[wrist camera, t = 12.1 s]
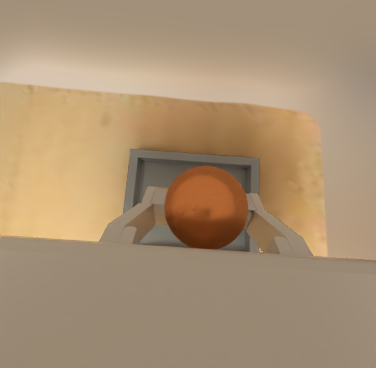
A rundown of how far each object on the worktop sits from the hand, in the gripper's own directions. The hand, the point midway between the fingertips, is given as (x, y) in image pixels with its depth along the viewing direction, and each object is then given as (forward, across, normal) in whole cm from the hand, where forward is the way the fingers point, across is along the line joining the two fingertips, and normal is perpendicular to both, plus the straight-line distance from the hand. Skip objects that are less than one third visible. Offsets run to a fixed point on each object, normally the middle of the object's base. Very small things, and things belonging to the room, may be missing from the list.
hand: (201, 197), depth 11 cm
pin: (+4, 0, +5) cm, 7 cm away
